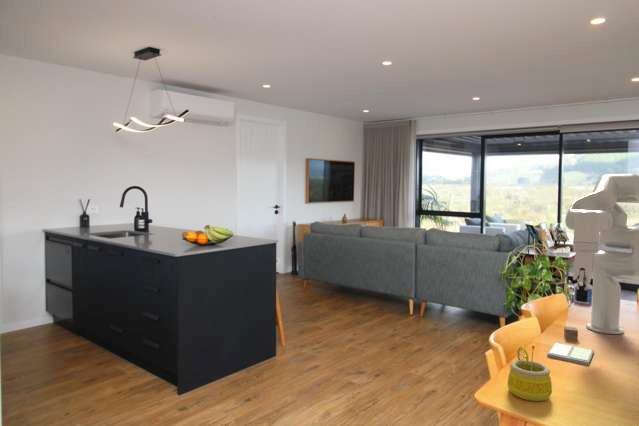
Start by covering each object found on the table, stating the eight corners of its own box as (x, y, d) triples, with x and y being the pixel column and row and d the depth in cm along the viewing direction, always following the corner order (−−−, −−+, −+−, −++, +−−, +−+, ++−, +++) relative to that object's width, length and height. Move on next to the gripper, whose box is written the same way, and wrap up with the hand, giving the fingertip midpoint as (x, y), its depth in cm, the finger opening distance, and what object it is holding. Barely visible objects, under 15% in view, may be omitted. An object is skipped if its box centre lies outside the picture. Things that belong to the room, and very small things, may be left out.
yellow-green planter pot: (549, 408, 117) (551, 362, 116) (504, 397, 123) (505, 353, 122) (554, 389, 128) (556, 347, 127) (512, 380, 134) (513, 340, 133)
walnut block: (563, 336, 174) (564, 326, 174) (575, 337, 173) (576, 327, 173) (565, 339, 171) (565, 329, 170) (577, 341, 169) (577, 330, 169)
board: (554, 345, 164) (554, 342, 164) (593, 352, 157) (593, 349, 157) (547, 356, 153) (547, 353, 153) (588, 365, 146) (588, 361, 146)
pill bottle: (594, 308, 154) (595, 279, 153) (576, 307, 155) (578, 278, 154) (588, 304, 159) (589, 276, 159) (571, 303, 160) (572, 275, 160)
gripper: (577, 244, 165) (574, 294, 166) (569, 248, 152) (566, 302, 152) (601, 246, 161) (598, 297, 161) (595, 250, 147) (592, 306, 148)
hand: (582, 299), depth 157 cm, fingers closed on pill bottle, 5 cm apart
